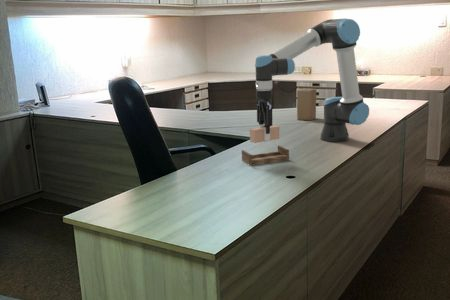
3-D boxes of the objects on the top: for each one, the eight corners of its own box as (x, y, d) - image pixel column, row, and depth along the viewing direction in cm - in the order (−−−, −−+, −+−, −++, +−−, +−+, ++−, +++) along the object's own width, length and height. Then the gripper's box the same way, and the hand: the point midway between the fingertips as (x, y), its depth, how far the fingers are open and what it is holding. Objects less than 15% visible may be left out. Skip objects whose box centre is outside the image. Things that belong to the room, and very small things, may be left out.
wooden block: (316, 118, 328) (316, 88, 323) (310, 120, 320) (310, 90, 315) (302, 117, 333) (302, 88, 328) (296, 119, 325) (296, 90, 320)
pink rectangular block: (274, 137, 235) (274, 125, 233) (279, 138, 231) (279, 126, 230) (250, 141, 228) (249, 128, 226) (254, 143, 224) (254, 130, 223)
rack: (279, 155, 240) (279, 145, 238) (288, 160, 231) (288, 149, 229) (241, 160, 233) (241, 150, 232) (250, 165, 224) (249, 155, 223)
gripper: (249, 88, 230) (250, 136, 236) (264, 92, 214) (265, 143, 220) (263, 87, 233) (264, 134, 239) (280, 91, 217) (280, 142, 222)
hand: (264, 138), depth 229 cm, fingers closed on pink rectangular block, 5 cm apart
